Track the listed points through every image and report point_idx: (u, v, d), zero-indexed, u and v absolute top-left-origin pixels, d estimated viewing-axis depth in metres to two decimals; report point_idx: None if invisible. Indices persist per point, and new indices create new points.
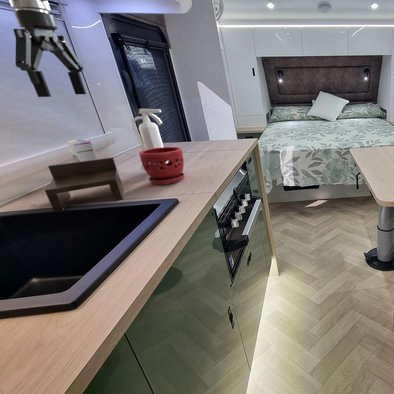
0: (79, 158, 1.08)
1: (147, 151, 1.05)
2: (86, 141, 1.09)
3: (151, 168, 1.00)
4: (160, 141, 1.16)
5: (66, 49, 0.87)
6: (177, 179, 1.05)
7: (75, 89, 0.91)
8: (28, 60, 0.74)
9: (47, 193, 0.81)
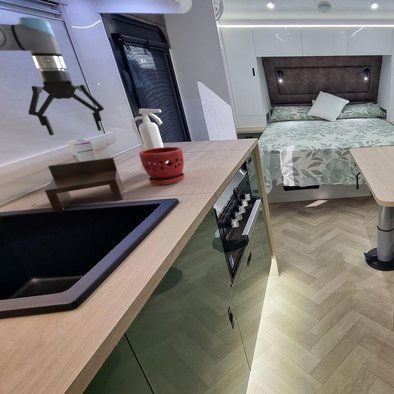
0: (79, 158, 1.08)
1: (147, 151, 1.05)
2: (86, 141, 1.09)
3: (151, 168, 1.00)
4: (160, 141, 1.16)
5: (86, 95, 1.06)
6: (177, 179, 1.05)
7: None
8: (31, 109, 0.99)
9: (47, 193, 0.81)
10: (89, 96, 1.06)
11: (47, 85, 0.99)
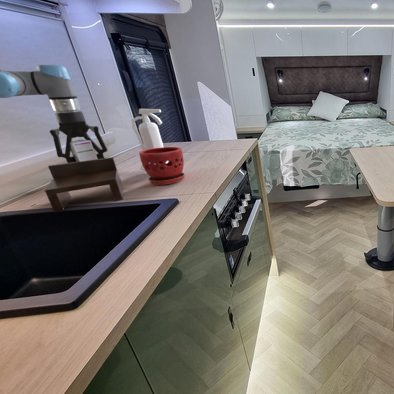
0: (79, 158, 1.08)
1: (147, 151, 1.05)
2: (86, 141, 1.09)
3: (151, 168, 1.00)
4: (160, 141, 1.16)
5: (96, 136, 1.11)
6: (177, 179, 1.05)
7: None
8: (58, 152, 1.06)
9: (47, 193, 0.81)
10: (98, 137, 1.11)
11: (62, 125, 1.05)
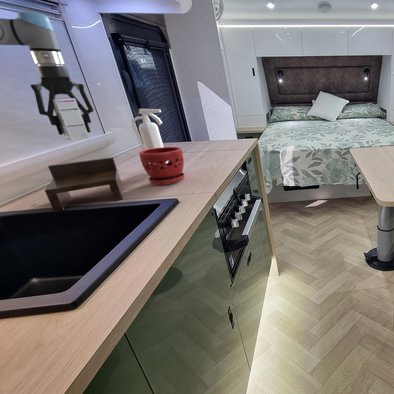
0: (62, 116, 1.02)
1: (147, 151, 1.05)
2: (70, 99, 1.03)
3: (151, 168, 1.00)
4: (160, 141, 1.16)
5: (81, 94, 1.05)
6: (177, 179, 1.05)
7: None
8: (40, 109, 1.00)
9: (47, 193, 0.81)
10: (84, 96, 1.06)
11: (45, 80, 0.99)
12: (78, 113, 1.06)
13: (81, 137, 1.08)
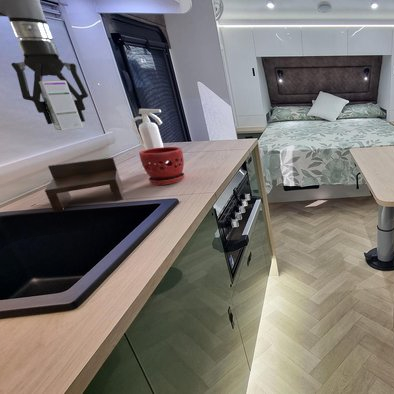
0: (51, 102, 0.86)
1: (147, 151, 1.05)
2: (60, 81, 0.87)
3: (151, 168, 1.00)
4: (160, 141, 1.16)
5: (73, 76, 0.89)
6: (177, 179, 1.05)
7: None
8: (24, 93, 0.84)
9: (47, 193, 0.81)
10: (76, 78, 0.89)
11: (29, 58, 0.83)
12: (70, 98, 0.89)
13: (74, 127, 0.91)
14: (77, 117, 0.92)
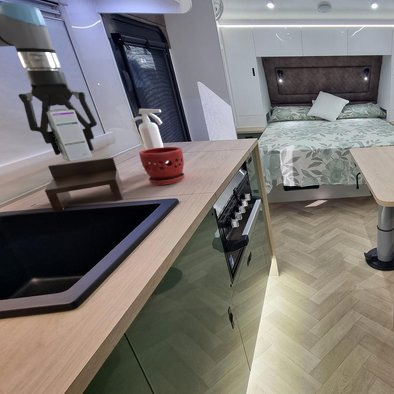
0: (59, 133, 0.83)
1: (147, 151, 1.05)
2: (68, 111, 0.84)
3: (151, 168, 1.00)
4: (160, 141, 1.16)
5: None
6: (177, 179, 1.05)
7: None
8: (31, 124, 0.81)
9: (47, 193, 0.81)
10: (85, 107, 0.86)
11: (36, 89, 0.79)
12: (78, 128, 0.86)
13: (82, 157, 0.88)
14: (86, 146, 0.88)
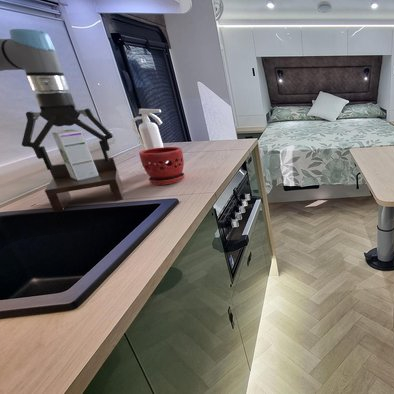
0: (67, 153, 0.85)
1: (147, 151, 1.05)
2: (76, 132, 0.86)
3: (151, 168, 1.00)
4: (160, 141, 1.16)
5: (92, 121, 0.88)
6: (177, 179, 1.05)
7: None
8: (25, 140, 0.81)
9: (47, 193, 0.81)
10: (96, 122, 0.88)
11: (45, 110, 0.82)
12: (85, 148, 0.88)
13: (89, 176, 0.90)
14: (92, 166, 0.91)
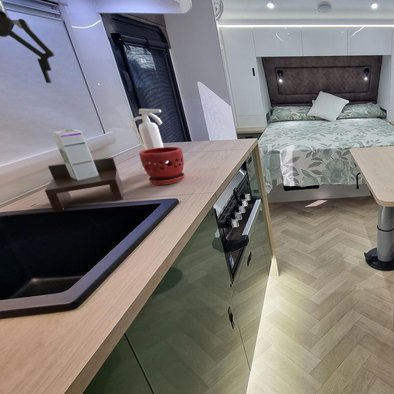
0: (67, 153, 0.85)
1: (147, 151, 1.05)
2: (76, 132, 0.86)
3: (151, 168, 1.00)
4: (160, 141, 1.16)
5: (28, 34, 0.81)
6: (177, 179, 1.05)
7: None
8: None
9: (47, 193, 0.81)
10: (32, 35, 0.81)
11: None
12: (85, 148, 0.88)
13: (89, 176, 0.90)
14: (92, 166, 0.91)
